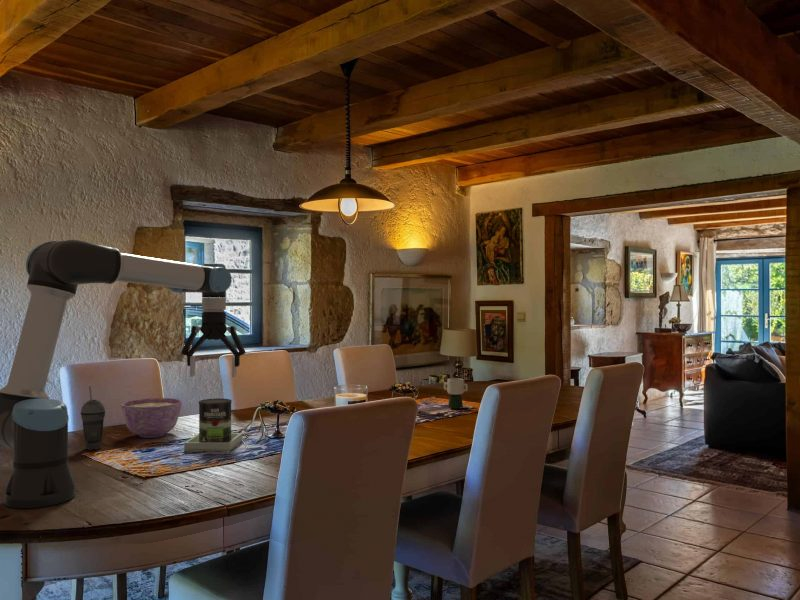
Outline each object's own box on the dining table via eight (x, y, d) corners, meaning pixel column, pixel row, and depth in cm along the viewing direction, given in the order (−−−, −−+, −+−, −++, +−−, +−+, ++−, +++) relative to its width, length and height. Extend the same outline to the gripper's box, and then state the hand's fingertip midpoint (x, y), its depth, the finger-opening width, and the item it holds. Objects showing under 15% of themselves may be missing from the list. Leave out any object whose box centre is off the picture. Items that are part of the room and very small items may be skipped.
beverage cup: (95, 451, 206) (95, 388, 206) (75, 450, 207) (75, 387, 207) (110, 446, 213) (110, 384, 213) (90, 445, 214) (90, 384, 214)
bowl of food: (108, 439, 222) (108, 405, 222) (144, 428, 242) (144, 397, 242) (160, 443, 218) (160, 408, 218) (193, 431, 237) (193, 399, 237)
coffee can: (231, 446, 209) (231, 402, 209) (198, 448, 207) (197, 403, 206) (231, 439, 219) (231, 397, 219) (199, 441, 217) (199, 398, 216)
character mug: (470, 408, 284) (470, 378, 284) (464, 411, 278) (464, 380, 278) (446, 406, 289) (446, 377, 289) (440, 409, 283) (440, 379, 283)
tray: (230, 451, 205) (230, 443, 205) (184, 451, 206) (184, 442, 206) (242, 441, 220) (242, 433, 220) (199, 441, 220) (199, 433, 220)
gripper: (254, 311, 216) (254, 375, 216) (179, 310, 216) (179, 374, 216) (249, 311, 208) (248, 378, 208) (171, 310, 209) (170, 377, 209)
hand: (213, 376), depth 212 cm, fingers open, 13 cm apart
